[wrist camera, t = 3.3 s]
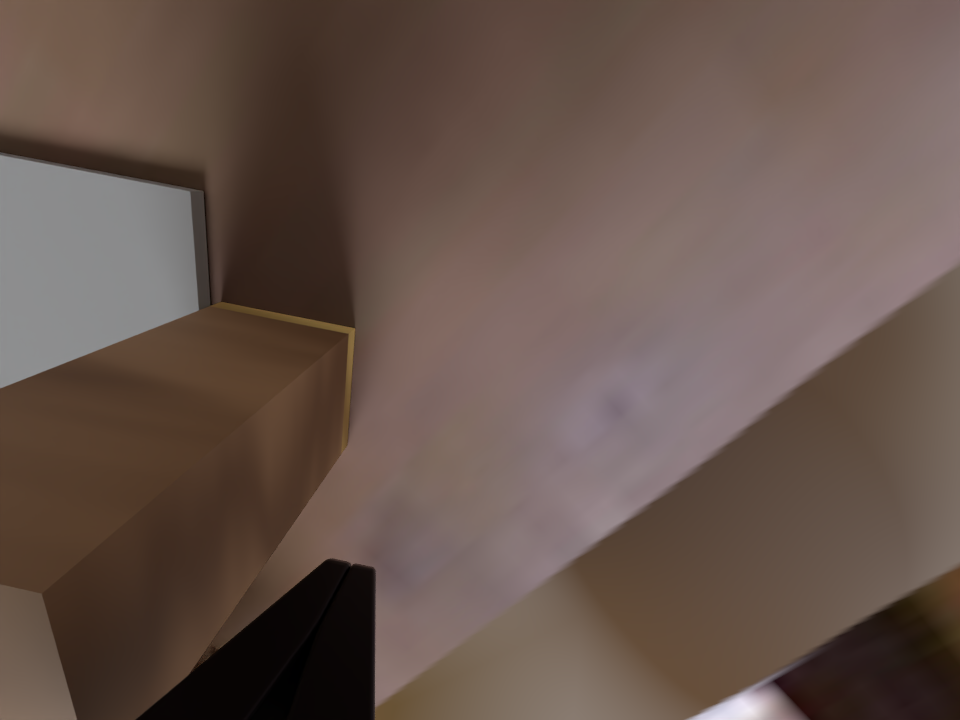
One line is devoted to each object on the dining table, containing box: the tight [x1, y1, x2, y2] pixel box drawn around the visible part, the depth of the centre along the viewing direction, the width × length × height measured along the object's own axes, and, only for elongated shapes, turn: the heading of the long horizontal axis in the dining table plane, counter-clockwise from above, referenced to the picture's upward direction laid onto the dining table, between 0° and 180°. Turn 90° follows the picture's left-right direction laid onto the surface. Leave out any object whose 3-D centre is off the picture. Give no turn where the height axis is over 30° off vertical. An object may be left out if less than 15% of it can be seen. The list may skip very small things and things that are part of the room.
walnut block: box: [0, 302, 355, 720], centre depth 10 cm, size 4×4×9 cm
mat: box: [0, 152, 210, 388], centre depth 14 cm, size 10×10×1 cm
